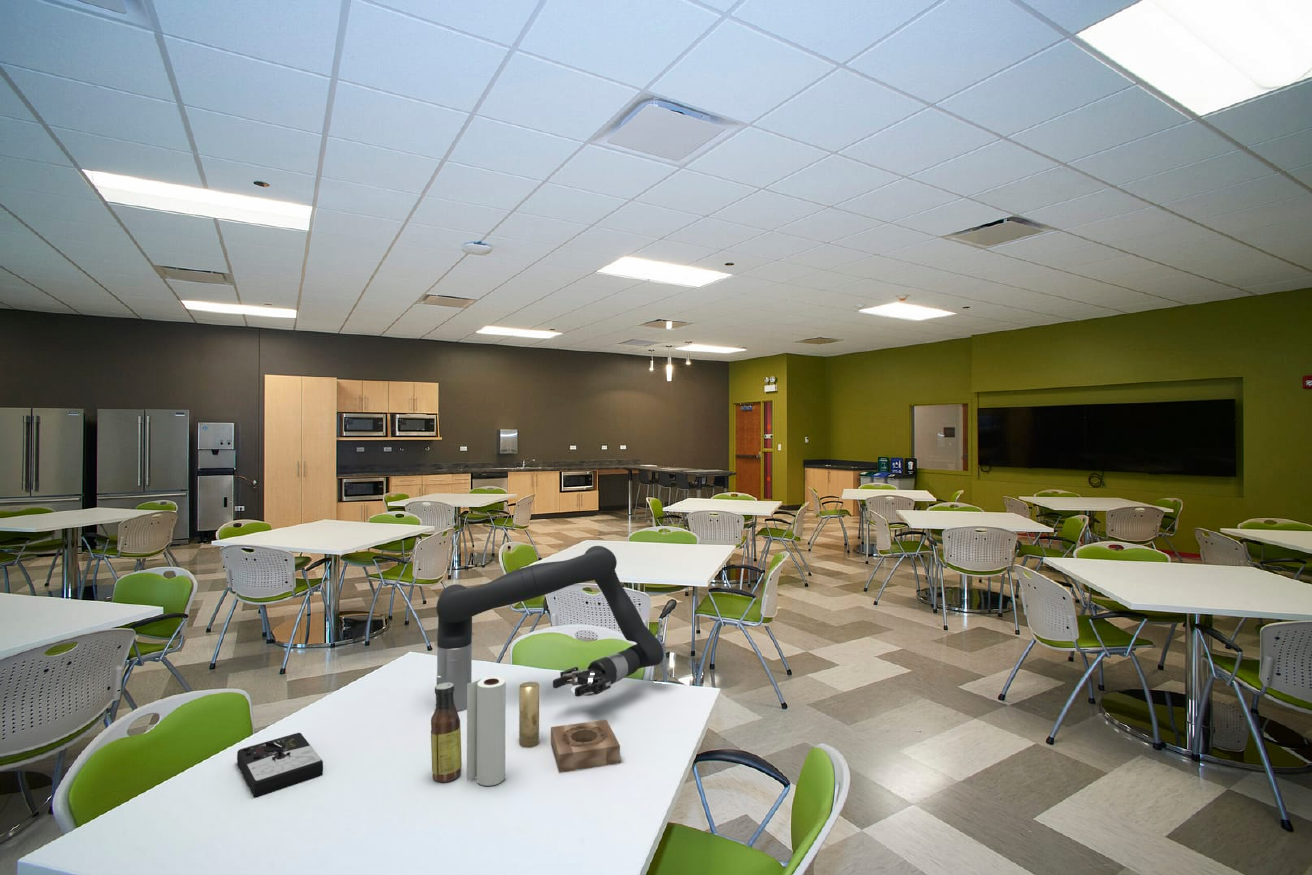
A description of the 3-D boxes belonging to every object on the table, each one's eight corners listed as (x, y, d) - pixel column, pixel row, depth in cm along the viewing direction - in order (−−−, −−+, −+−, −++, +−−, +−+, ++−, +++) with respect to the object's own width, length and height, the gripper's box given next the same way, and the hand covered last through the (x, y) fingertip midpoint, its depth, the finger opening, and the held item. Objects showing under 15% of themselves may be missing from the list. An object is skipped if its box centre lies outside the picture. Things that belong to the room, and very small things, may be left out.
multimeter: (300, 746, 150) (301, 725, 150) (323, 777, 136) (324, 754, 136) (236, 765, 141) (236, 743, 141) (254, 800, 127) (254, 776, 127)
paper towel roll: (511, 775, 136) (511, 678, 136) (492, 789, 130) (493, 688, 130) (485, 768, 139) (485, 673, 139) (466, 781, 133) (466, 682, 133)
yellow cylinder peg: (520, 748, 148) (520, 690, 148) (518, 739, 152) (518, 682, 153) (540, 745, 149) (540, 687, 149) (537, 736, 154) (538, 680, 154)
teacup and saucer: (595, 697, 179) (595, 683, 179) (568, 697, 179) (568, 683, 179) (598, 685, 188) (598, 672, 188) (572, 685, 188) (572, 672, 188)
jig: (558, 772, 137) (558, 754, 137) (550, 743, 150) (550, 726, 150) (619, 762, 141) (619, 745, 141) (606, 735, 154) (606, 719, 154)
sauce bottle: (467, 771, 137) (467, 682, 138) (449, 785, 132) (449, 692, 132) (443, 766, 140) (443, 678, 140) (424, 780, 134) (424, 688, 134)
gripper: (590, 651, 177) (546, 667, 164) (626, 662, 167) (583, 680, 155) (590, 677, 176) (546, 696, 164) (627, 689, 167) (583, 710, 155)
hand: (564, 688), depth 159 cm, fingers open, 8 cm apart
